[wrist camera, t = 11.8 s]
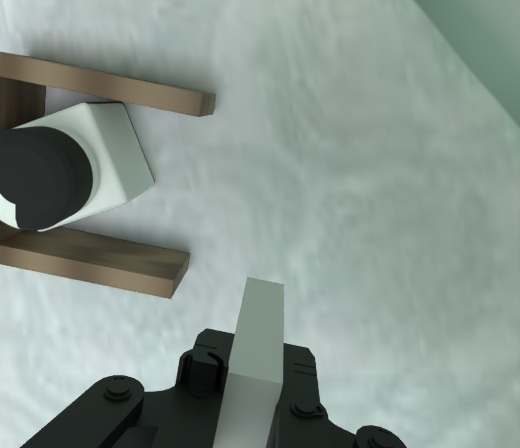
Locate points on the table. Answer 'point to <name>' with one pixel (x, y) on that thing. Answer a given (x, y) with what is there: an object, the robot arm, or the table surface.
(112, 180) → the medicine bottle
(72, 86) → the box
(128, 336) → the table surface
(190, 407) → the robot arm
